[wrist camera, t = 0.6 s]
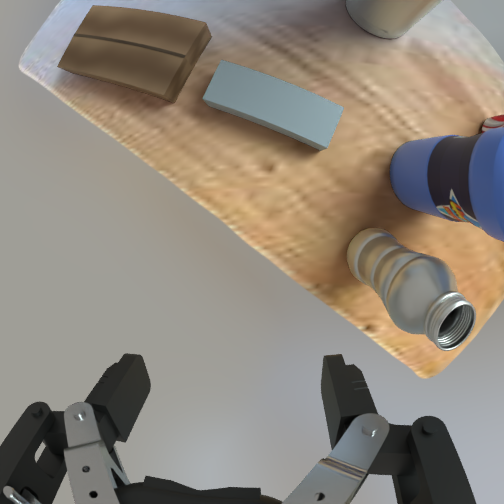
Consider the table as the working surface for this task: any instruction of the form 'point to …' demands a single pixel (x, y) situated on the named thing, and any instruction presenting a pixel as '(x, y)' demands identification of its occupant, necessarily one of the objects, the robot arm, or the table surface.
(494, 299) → the table surface
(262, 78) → the slate plank
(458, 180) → the water bottle
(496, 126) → the soda can
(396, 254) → the plastic bottle
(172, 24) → the floorboards
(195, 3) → the table surface
